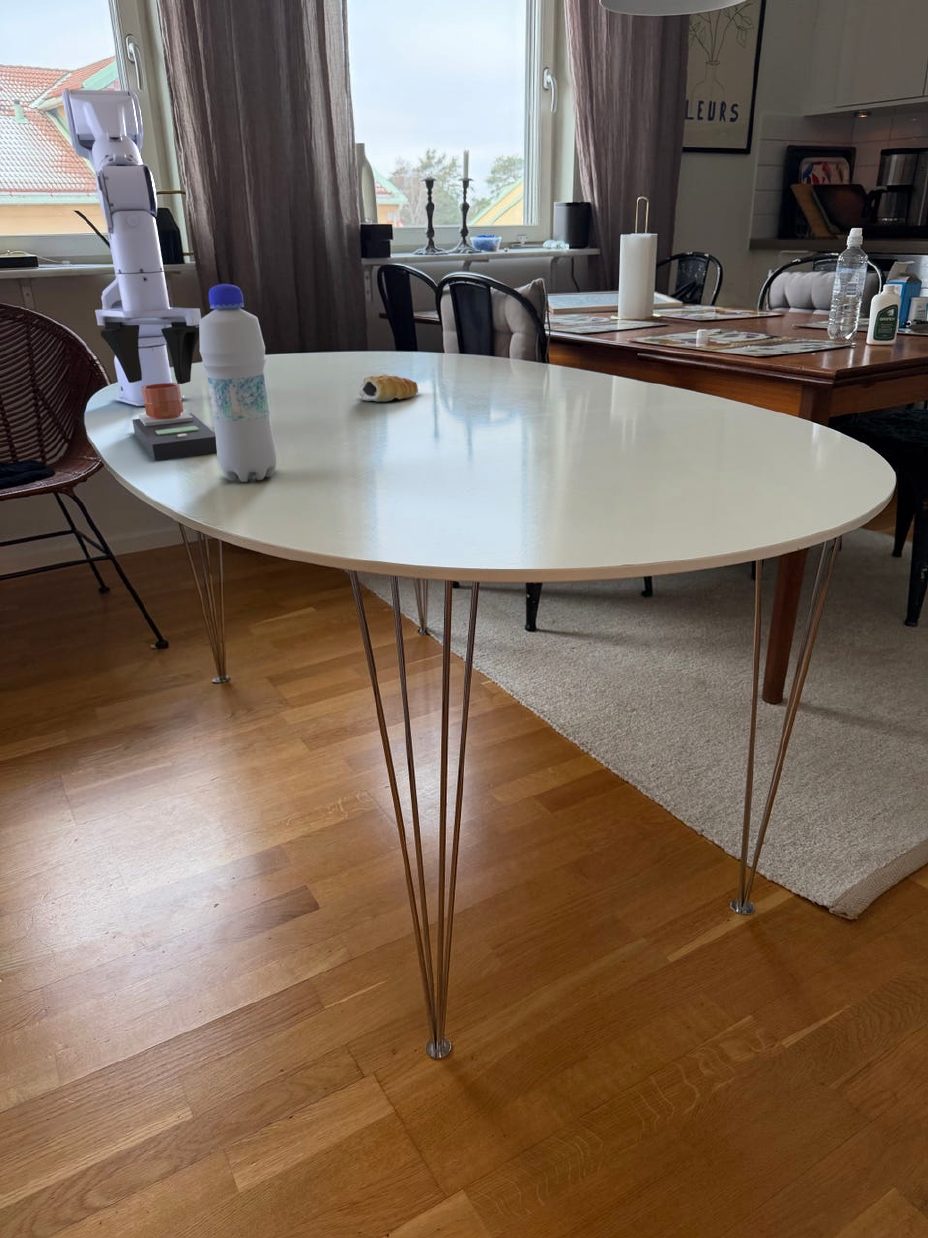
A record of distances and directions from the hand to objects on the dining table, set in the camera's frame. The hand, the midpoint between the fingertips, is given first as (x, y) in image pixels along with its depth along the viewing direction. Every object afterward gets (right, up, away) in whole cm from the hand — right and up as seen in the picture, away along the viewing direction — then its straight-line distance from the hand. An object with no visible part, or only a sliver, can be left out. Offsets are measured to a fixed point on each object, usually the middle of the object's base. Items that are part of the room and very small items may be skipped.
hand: (159, 382), depth 114 cm
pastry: (+29, +4, +23) cm, 37 cm away
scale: (+3, -8, -2) cm, 9 cm away
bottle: (+17, -16, -19) cm, 30 cm away
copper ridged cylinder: (0, -4, +2) cm, 5 cm away
